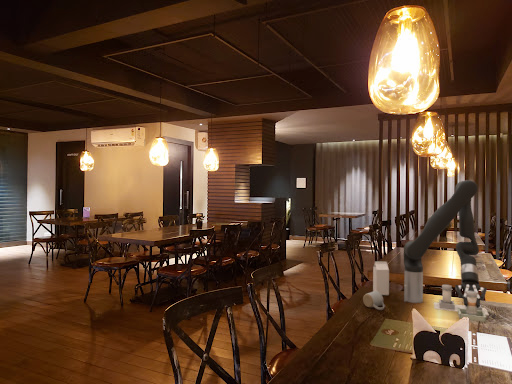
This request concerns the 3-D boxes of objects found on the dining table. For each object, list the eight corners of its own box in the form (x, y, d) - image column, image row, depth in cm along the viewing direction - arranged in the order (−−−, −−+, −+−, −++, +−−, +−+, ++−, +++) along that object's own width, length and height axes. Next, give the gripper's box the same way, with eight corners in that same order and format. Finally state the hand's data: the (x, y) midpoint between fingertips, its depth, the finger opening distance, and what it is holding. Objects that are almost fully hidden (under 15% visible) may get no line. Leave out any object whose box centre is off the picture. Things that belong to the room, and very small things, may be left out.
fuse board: (434, 310, 191) (434, 303, 191) (433, 303, 202) (433, 297, 202) (489, 317, 182) (489, 310, 182) (485, 309, 193) (485, 303, 193)
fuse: (442, 307, 193) (442, 286, 193) (441, 305, 197) (441, 284, 197) (451, 308, 192) (452, 287, 191) (451, 306, 196) (451, 285, 195)
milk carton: (388, 295, 218) (389, 262, 218) (376, 295, 218) (376, 262, 218) (385, 291, 225) (385, 260, 225) (373, 291, 226) (373, 260, 225)
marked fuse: (466, 315, 178) (467, 292, 178) (465, 312, 182) (466, 290, 182) (477, 316, 176) (477, 293, 176) (476, 313, 181) (476, 291, 180)
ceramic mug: (361, 305, 200) (361, 291, 199) (372, 303, 204) (372, 289, 204) (377, 311, 191) (377, 296, 190) (388, 308, 195) (388, 294, 195)
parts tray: (459, 320, 177) (459, 314, 177) (457, 314, 186) (457, 308, 186) (486, 324, 173) (486, 317, 173) (483, 317, 182) (483, 310, 181)
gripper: (453, 269, 189) (455, 300, 178) (486, 272, 183) (490, 304, 172) (453, 277, 194) (454, 308, 183) (485, 280, 188) (488, 312, 177)
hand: (472, 306), depth 178 cm, fingers closed on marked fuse, 4 cm apart
